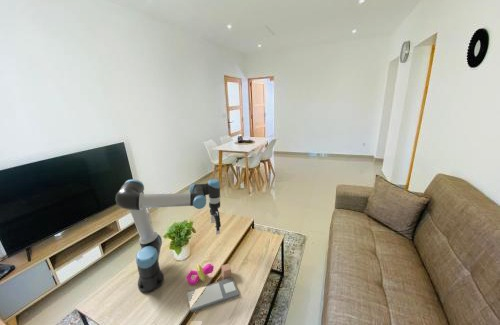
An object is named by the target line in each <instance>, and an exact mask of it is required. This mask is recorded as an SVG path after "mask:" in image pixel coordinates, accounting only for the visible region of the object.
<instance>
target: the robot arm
mask: <svg viewBox="0 0 500 325" xmlns="http://www.w3.org/2000/svg"><path fill="white" fill-rule="evenodd" d="M144 191H145V185H144V183H143V182H142V181H140V180H138V179H135V178H134V179H133V178H131V179H127V180H126V181H125V182H124V183H123V184H122V185H121V187H120V189H119V190H118V191H117V193H116V194H115V203H116V205H117V206H118V207H119V208H121V209H123V210H128V211H130V214H131V216H132V218H133V222H134V225H135V227H136V229H137V234H138V235H139V239H138V243H139V246H140V249H139V250H138V252H137V254H136V256H135V263H136V266H137V271H138V280H137V288H138V290H139V291H140V292H142V293H143V294H144V293H148V294H149V293H153V292H154V291H156V290H158V289H159V288H160V287H161V286H162V285H163V284H164V281H165V277H164V276H165V275H164V273H163V271H162V269H160V262H159V260H160V253H161V248H162V244H163V239H162V236H161V235H160V234H159V233H158V232H157V231H154V228H153V225H152V220H151V218H150V215H149V213H148V209H149V208H151V209H154V208H174V207H175V208H176V207H194V208H195V209H198V210H200V209H204V208H205V207H206V205H207V196H208V207H209V213H210V224H214V223H215V226H214V228H215V235H219V234H221V227H222V225H221V218H220V211H219V208H220V207H221V197H222V196H221V181H220V180H219V179H216V178H211V179H209V180H208V182H207V183H198V184H197V183H195V184H190V185H189V192H188V193H187V192H184V193H183V192H182V193H181V192H180V193H148V194H147V193H144Z"/></svg>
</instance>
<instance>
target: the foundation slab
mask: <svg viewBox="0 0 500 325" xmlns="http://www.w3.org/2000/svg"><path fill="white" fill-rule="evenodd" d="M207 285H208V286H207V287H206V289H205V291H204V292H203V294H202V295H201V296H200V297H199V299H198V300H197V302H196V303H195V304H194V305H193V306H192V308H191V309H190V313H196V312H197V311H200V310H203V309H205V308H208V307H211V306H215V305H217V304H221V303H223V302H225V301H228V300H229V301H230V300H232V299H234V298H238V297H240V292H239V291H238V288H237V285H236V283H235V280H234V277H232V276H231V278H228V279H222V280H218V281H216V282H213V283H210V284H207ZM195 289H196V288H194V289H191V290H188V291H187V298H188V299H187V300H188V302H189V301H191V299H192V296H193V295H192V294H194V292H195Z"/></svg>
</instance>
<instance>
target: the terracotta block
mask: <svg viewBox="0 0 500 325" xmlns="http://www.w3.org/2000/svg"><path fill="white" fill-rule="evenodd" d="M230 265H231V264H230V263H226V264H222V265H221V276H222V278H223V279H222V280H225V279H228V278H231V277H232V268H231V266H230Z"/></svg>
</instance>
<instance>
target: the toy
mask: <svg viewBox="0 0 500 325" xmlns="http://www.w3.org/2000/svg"><path fill="white" fill-rule="evenodd" d="M214 267H215V266H214V265H213V264H211V263H207V264H206V265H205V266H204V267H203V268H202V266H201V265H200V264H199V263H198V264H197V265H196V270H192V269H191V270H190V271H189V272H188V274H187V276H186V279H187V284H188V285H194V286H195V285H196V284H197V283H198V281H199V280H201V281H202V282H203V281H205V282H206V275H209V274H212V273H213V272H214ZM193 276H195V277H194V279H192V277H193Z"/></svg>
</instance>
